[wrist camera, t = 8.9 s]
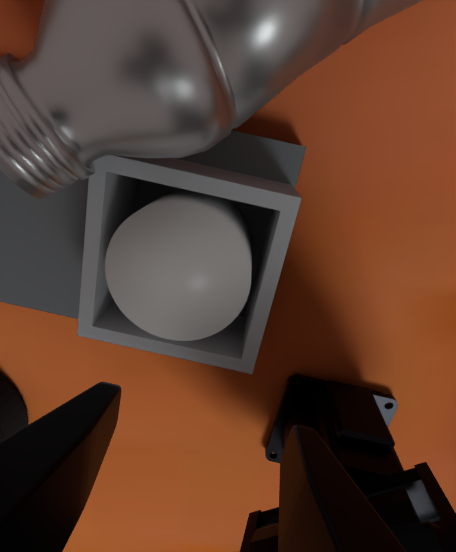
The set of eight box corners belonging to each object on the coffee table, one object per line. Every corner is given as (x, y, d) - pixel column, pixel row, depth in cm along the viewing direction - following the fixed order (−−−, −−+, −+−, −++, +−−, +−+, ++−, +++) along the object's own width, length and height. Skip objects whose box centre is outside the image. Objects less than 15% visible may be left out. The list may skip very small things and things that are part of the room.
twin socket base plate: (249, 342, 22) (247, 406, 16) (-158, 251, 21) (-289, 288, 16) (302, 146, 18) (321, 149, 13) (-196, 33, 17) (-384, -11, 12)
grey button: (238, 311, 19) (233, 353, 15) (129, 287, 19) (99, 324, 15) (264, 202, 17) (267, 221, 13) (144, 175, 17) (112, 186, 13)
